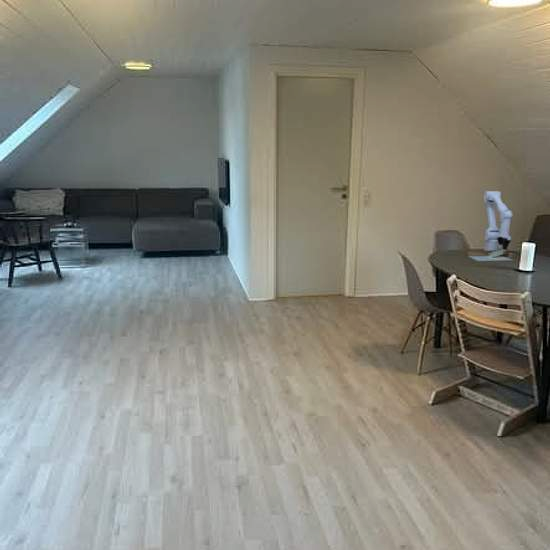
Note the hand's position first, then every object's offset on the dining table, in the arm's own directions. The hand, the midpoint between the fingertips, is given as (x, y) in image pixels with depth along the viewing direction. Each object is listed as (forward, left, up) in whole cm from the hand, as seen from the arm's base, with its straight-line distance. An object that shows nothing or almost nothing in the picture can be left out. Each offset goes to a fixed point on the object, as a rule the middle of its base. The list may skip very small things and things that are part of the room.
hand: (502, 248), depth 380 cm
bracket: (0, -3, -4) cm, 5 cm away
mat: (+1, -9, -6) cm, 11 cm away
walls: (+1, -9, -6) cm, 11 cm away
